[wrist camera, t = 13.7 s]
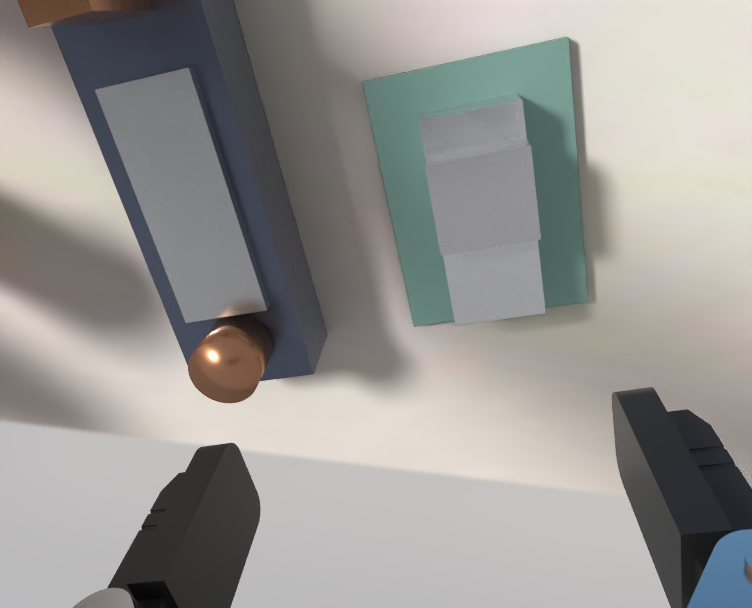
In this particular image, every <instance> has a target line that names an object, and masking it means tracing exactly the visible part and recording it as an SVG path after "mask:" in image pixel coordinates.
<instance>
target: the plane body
mask: <svg viewBox="0 0 752 608" xmlns="http://www.w3.org/2000/svg"><path fill="white" fill-rule="evenodd" d="M18 3H19V5H20V7H21V10H22V12H23V15H24V17H25V19H26V22H27V24H28V27H29V28H31V27H52V30H53V32H54V35H55V37H56V40H57V42H58V45H59V47H60V50H61V52H62V55H63V57H64V60H65V62H66V64H67V67H68V69H69V72H70V74H71V77H72V79H73V82H74V84H75V87H76V89H77V92H78V94H79V97H80V99H81V102H82V104H83V107H84V109H85V112H86V114H87V117H88V119H89V122H90V124H91V127H92V129H93V132H94V134H95V136H96V139H97V141H98V144H99V146H100V149H101V151H102V154H103V156H104V159H105V161H106V164H107V166H108V169H109V171H110V174H111V176H112V179H113V181H114V184H115V186H116V189H117V191H118V194H119V196H120V199H121V201H122V204H123V206H124V208H125V211H126V213H127V216H128V218H129V221H130V223H131V226H132V228H133V231H134V233H135V236H136V238H137V241H138V243H139V246H140V248H141V251H142V253H143V256H144V258H145V261H146V263H147V266H148V268H149V271H150V273H151V276H152V278H153V280H154V283H155V285H156V288H157V290H158V293H159V295H160V298H161V300H162V303H163V305H164V308H165V310H166V313H167V315H168V318H169V320H170V323H171V325H172V328H173V330H174V333H175V335H176V338H177V340H178V343H179V345H180V348H181V350H182V352H183V355H184V357H185V360H186V362H187V365H188V371H189V376H190V378H191V381H192V382H193V384H194V386H195V387H196V388H197V389H198V390H199V391H200V392H201V393H202V394H204V395H205V396H207V397H208V398H210V399H212V400H215V401H218V402H223V403H236V402H240V401H243V400H245V399H247V398H248V397H249V396H251V395H252V394H253V392H254V391H255V389H256V387H257V385H258V383H259V381H264V380H272V379H279V378H287V377H295V376H302V375H310V374H314V371H315V368H316V365H317V362H318V360H319V357H320V354H321V351H322V348H323V345H324V343H325V340H326V337H327V332H326V328H325V325H324V321H323V318H322V314H321V311H320V307H319V304H318V300H317V296H316V293H315V289H314V286H313V282H312V279H311V275H310V272H309V268H308V265H307V261H306V257H305V254H304V250H303V247H302V243H301V240H300V236H299V233H298V229H297V226H296V222H295V218H294V215H293V211H292V208H291V204H290V201H289V197H288V194H287V190H286V187H285V183H284V179H283V176H282V172H281V169H280V165H279V162H278V158H277V155H276V151H275V148H274V144H273V140H272V137H271V133H270V130H269V126H268V123H267V119H266V116H265V112H264V109H263V105H262V101H261V98H260V94H259V91H258V87H257V84H256V80H255V77H254V73H253V70H252V66H251V62H250V59H249V55H248V52H247V48H246V45H245V41H244V38H243V34H242V31H241V27H240V23H239V20H238V16H237V13H236V9H235V6H234V2H233V0H18Z"/></svg>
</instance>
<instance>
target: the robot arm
mask: <svg viewBox="0 0 752 608" xmlns="http://www.w3.org/2000/svg"><path fill="white" fill-rule="evenodd" d="M612 408H613V421H614V434H615V447H616V457H617V463H618V468H619V472H620V476H621V479H622V482H623V485H624V488H625V490H626V493H627V496H628V498H629V501H630V503H631V506H632V508H633V511H634V514H635V516H636V518H637V521H638V524H639V526H640V529H641V532H642V534H643V537H644V539H645V542H646V544H647V547H648V550H649V552H650V555H651V557H652V560H653V563H654V565H655V568H656V570H657V573H658V575H659V578H660V580H661V583H662V586H663V588H664V591H665V593H666V596H667V599H668V601H669V604H670V606H671V608H752V489H751V487H750V486H749V484H748V482H747V481H746V479H745V478H744V476H743V475H742V473H741V472H740V470H739V469H738V467H736V466H735V464H734V461H733V459H732V458H731V456H730V455H729V453H728V452H727V450H725V449H724V445H723V444H722V442H721V441H720V439H719V438H718V436H717V435H716V433H715V431H714V430H713V428H712V427H711V425H709V424H708V423H706V422H705V421H704V420H702V419H701V418H699V417H698V416H696V415H695V414H693V413H692V412H691V411H689V410H688V409H687V410H679V411H672V412H667V410H666V409H665V407H664V405H663V403H662V402H661V400H660V398H659V396H658V394H657V393H656V391H655V390H654V388H652V387H650V388H643V389H635V390H628V391H620V392H613V394H612ZM150 511H151V514H149V515H148V516H147V517H146V519H145V521H144V523H143V525H142V530H141V531H139V532H138V534H137V536H136V538H135V539H134V541H133V543H132V545H131V546H130V548H129V550H128V552H127V553H126V555H125V557H124V559H123V561H122V563H121V564H120V566H119V568H118V570H117V571H116V573H115V575H114V577H113V579H112V580H111V582H110V584H109V586H108V588H107V589H104V590H100V591H98V592H95V593H93V594H91V595H90V596H88V597H86V598H85V599H83V600H82V601H80V602H79V603H78V604H76V605H75V606H74V607H73V608H230V607H231V604H232V601H233V598H234V595H235V592H236V589H237V586H238V583H239V580H240V577H241V574H242V571H243V568H244V565H245V562H246V559H247V556H248V553H249V550H250V548H251V544H252V541H253V539H254V535H255V533H256V530H257V526H258V523H259V518H260V501H259V496H258V493H257V490H256V489H255V486H254V483H253V481H252V479H251V476H250V474H249V472H248V469H247V467H246V465H245V462H244V460H243V457H242V455H241V452H240V450H239V448H238V447H237V445H236V444H234V443H227V444H220V445H212V446H205V447H200V448H199V449H198V450H197V451H196V453H195V454H194V456H193V458H192V460H191V462H190V464H189V466H188V468H187V470H186V472H183V473H179V474H178V475H177V476H176V477H175V478H174V479H173V480H172V481H171V482H170V483H169V484H168V485H167V486H166V487H165V488H164V489H163V490H162V491H161V492H160V494H159V496H158V498H157V499H156V501H155V503H154V505H153V507H152V509H151V510H150Z"/></svg>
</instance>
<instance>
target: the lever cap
mask: <svg viewBox="0 0 752 608" xmlns="http://www.w3.org/2000/svg"><path fill="white" fill-rule="evenodd" d="M419 127H420V133H421V138H422V144H423V149H424V155H425V165H424V166H425V172H426V177H427V183H428V188H429V194H430V199H431V205H432V210H433V216H434V221H435V227H436V232H437V238H438V243H439V248H440V254H441V256H443V260H444V265H445V271H446V276H447V282H448V287H449V293H450V298H451V304H452V309H453V315H454V320H455V326H460V325H467V324H474V323H481V322H488V321H495V320H502V319H508V318H515V317H522V316H529V315H536V314H543V313H546V311H545V301H544V292H543V283H542V274H541V265H540V256H539V246H538V240H541V234H540V225H539V215H538V206H537V196H536V187H535V178H534V168H533V159H532V150H531V144H530V143H529V141H528V140H527V136H526V127H525V118H524V109H523V100H522V99H521V98H520V97H519V96H518V94H517V93H516V94H511V95H506V96H501V97H497V98H492V99H487V100H482V101H477V102H473V103H468V104H463V105H458V106H454V107H449V108H444V109H439V110H434V111H430V112H425V113H420V117H419Z"/></svg>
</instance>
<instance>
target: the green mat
mask: <svg viewBox="0 0 752 608" xmlns="http://www.w3.org/2000/svg"><path fill="white" fill-rule="evenodd" d="M362 84H363V88H364V93H365V98H366V103H367V107H368V112H369V117H370V121H371V126H372V131H373V136H374V140H375V145H376V150H377V154H378V159H379V164H380V169H381V173H382V178H383V183H384V188H385V192H386V197H387V202H388V206H389V211H390V216H391V221H392V225H393V230H394V235H395V239H396V244H397V249H398V254H399V258H400V263H401V268H402V272H403V277H404V282H405V287H406V291H407V296H408V301H409V306H410V310H411V315H412V320H413V324H414V327H416V326H423V325H430V324H437V323H443V322H450V321H455V320H454V315H453V309H452V304H451V298H450V293H449V287H448V282H447V276H446V271H445V265H444V260H443V256H441V254H440V248H439V243H438V238H437V232H436V227H435V221H434V216H433V210H432V205H431V199H430V194H429V188H428V183H427V177H426V172H425V166H424V165H425V155H424V149H423V144H422V138H421V133H420V127H419V117H420V113H425V112H430V111H434V110H439V109H444V108H449V107H454V106H458V105H463V104H468V103H473V102H477V101H482V100H487V99H492V98H497V97H501V96H506V95H511V94H516V93H517V94H518V96H519V97H520V98H521V99H522V100H523V109H524V118H525V127H526V136H527V140H528V141H529V143H530V144H531V150H532V159H533V168H534V178H535V187H536V196H537V206H538V215H539V225H540V234H541V240H538V246H539V256H540V265H541V274H542V283H543V292H544V301H545V308H548V307H555V306H562V305H569V304H576V303H583V302H588V298H587V284H586V270H585V257H584V243H583V230H582V216H581V202H580V189H579V175H578V161H577V148H576V134H575V120H574V107H573V93H572V79H571V66H570V52H569V38H568V37H563V38H559V39H554V40H550V41H545V42H540V43H536V44H531V45H527V46H522V47H518V48H513V49H509V50H504V51H500V52H495V53H491V54H486V55H482V56H477V57H473V58H468V59H464V60H459V61H454V62H450V63H445V64H441V65H436V66H432V67H427V68H423V69H418V70H414V71H409V72H405V73H400V74H396V75H391V76H387V77H382V78H378V79H373V80H368V81H364V82H363V83H362Z"/></svg>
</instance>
